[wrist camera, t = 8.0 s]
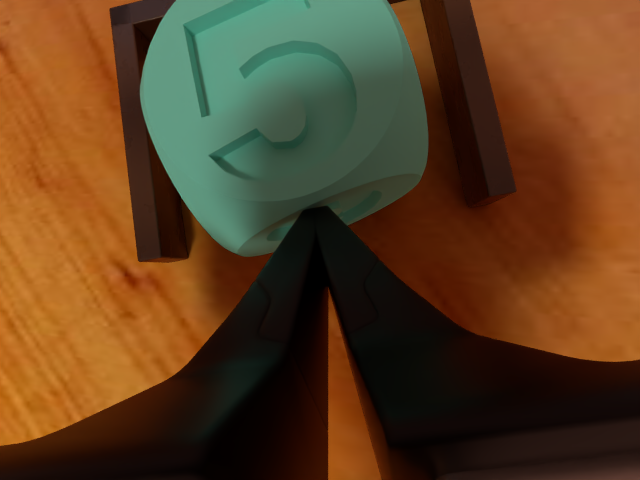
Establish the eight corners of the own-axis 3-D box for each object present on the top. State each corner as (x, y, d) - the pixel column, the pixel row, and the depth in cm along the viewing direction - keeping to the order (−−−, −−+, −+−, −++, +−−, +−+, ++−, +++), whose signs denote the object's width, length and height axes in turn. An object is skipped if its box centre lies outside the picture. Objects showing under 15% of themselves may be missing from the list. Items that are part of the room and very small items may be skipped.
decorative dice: (345, 71, 17) (344, -100, 9) (404, 202, 16) (460, 138, 8) (213, 129, 17) (102, 13, 9) (264, 260, 16) (188, 254, 9)
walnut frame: (491, 203, 16) (517, 191, 13) (167, 262, 17) (137, 262, 14) (436, -27, 17) (451, -77, 15) (140, 42, 18) (108, 7, 16)
